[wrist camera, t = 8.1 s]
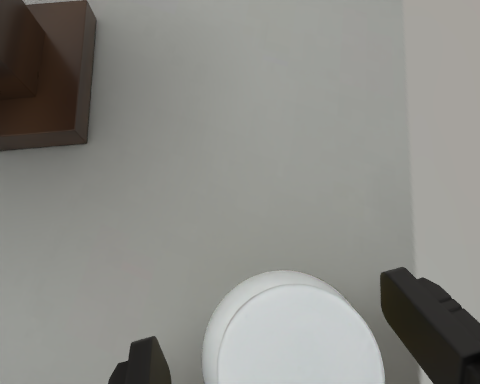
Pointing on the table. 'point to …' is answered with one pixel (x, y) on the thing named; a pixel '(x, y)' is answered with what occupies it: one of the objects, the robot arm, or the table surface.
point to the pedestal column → (45, 73)
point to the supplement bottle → (288, 335)
